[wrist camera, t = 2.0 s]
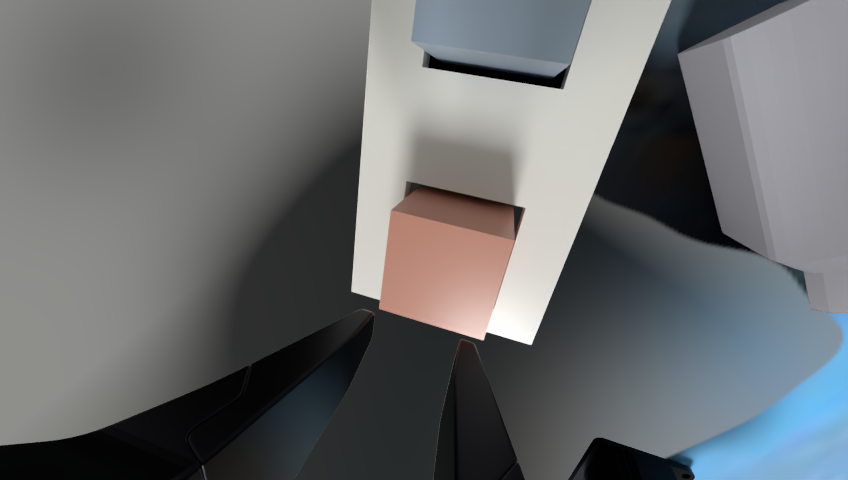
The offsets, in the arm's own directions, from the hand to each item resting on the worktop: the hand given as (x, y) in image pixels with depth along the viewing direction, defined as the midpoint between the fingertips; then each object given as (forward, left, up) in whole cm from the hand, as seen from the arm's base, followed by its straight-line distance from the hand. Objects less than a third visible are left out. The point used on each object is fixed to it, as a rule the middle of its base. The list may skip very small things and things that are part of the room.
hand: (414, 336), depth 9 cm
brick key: (0, 0, -8) cm, 8 cm away
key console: (+5, 0, -11) cm, 12 cm away
